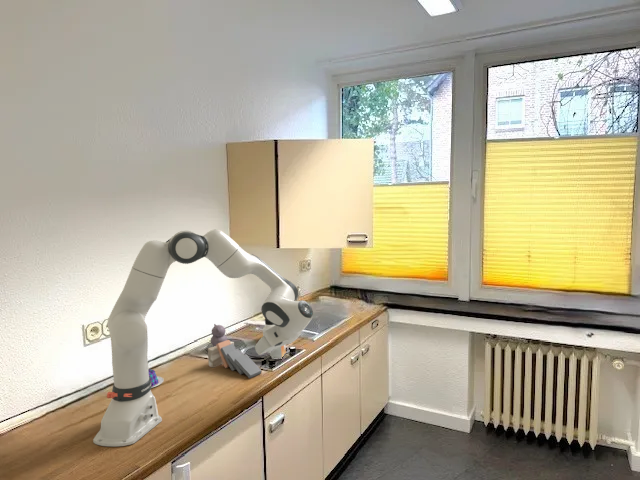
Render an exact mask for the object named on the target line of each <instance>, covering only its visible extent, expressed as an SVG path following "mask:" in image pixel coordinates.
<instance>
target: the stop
mask: <svg viewBox="0 0 640 480" xmlns="http://www.w3.org/2000/svg"><path fill="white" fill-rule="evenodd" d="M229 341H230V343H231V344H234V345H235V341H231V340H229ZM207 356H208V357H207V358H208V359H207V361H208V367H210V368H216V367H218V366H221V365H224V364H223V361H222V359H221V356H220V354H219V351H218V348H217V346H214V347H213V346H212V347H208V348H207Z"/></svg>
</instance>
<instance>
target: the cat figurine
mask: <svg viewBox="0 0 640 480" xmlns="http://www.w3.org/2000/svg"><path fill="white" fill-rule="evenodd" d="M225 334H226V328H225V327H224V326H223V325H220V324H216V323H214V326H212V329H211V335H212V336H211V337H210V343H211V345H212V347H213V346H216V344H218V343H221V342H224V341H226V340H228V338H227V336H226V335H225Z"/></svg>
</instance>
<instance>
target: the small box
mask: <svg viewBox="0 0 640 480" xmlns="http://www.w3.org/2000/svg"><path fill="white" fill-rule="evenodd" d="M285 353H286V354H287V344H286V345H284V346H281V347H279V348H277V349H275V350H274V351H273V352H270V353H269V357H270V356H273V357H275V358H281V359H282V357H283V356H284V354H285ZM284 357H285V356H284ZM284 357H283V358H284ZM282 360H283V359H282Z"/></svg>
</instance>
